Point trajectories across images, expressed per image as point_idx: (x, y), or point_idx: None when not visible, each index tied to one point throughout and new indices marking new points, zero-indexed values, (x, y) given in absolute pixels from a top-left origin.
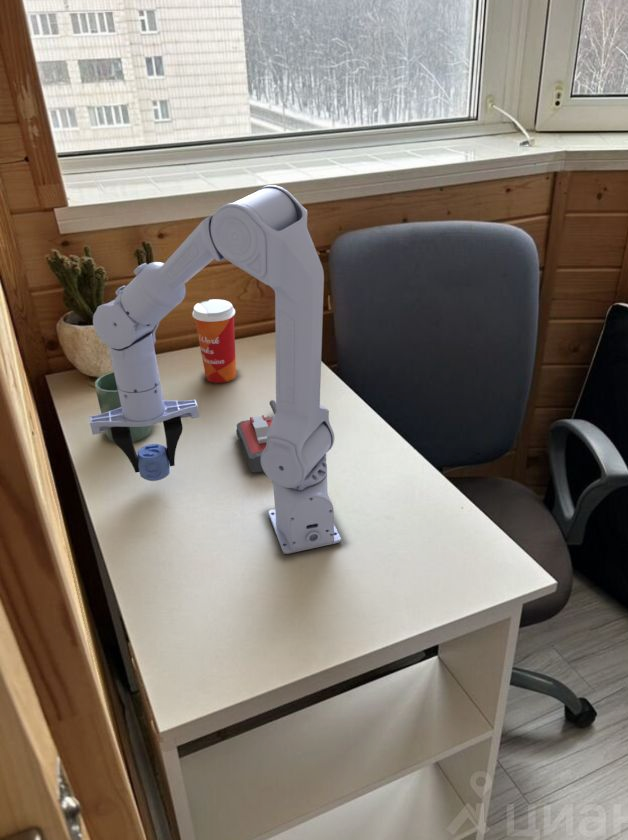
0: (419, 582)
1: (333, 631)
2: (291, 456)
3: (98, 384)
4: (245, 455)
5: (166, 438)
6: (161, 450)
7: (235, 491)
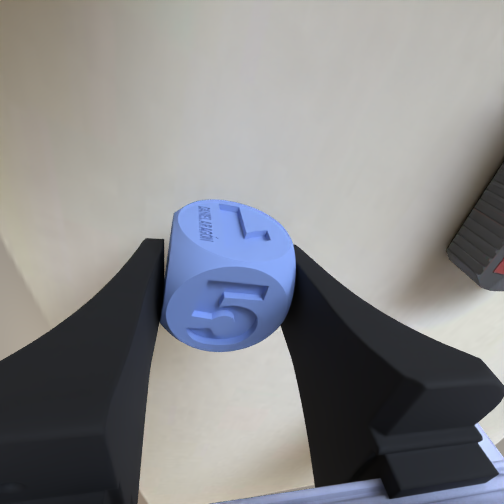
0: None
1: None
2: None
3: None
4: (491, 197)
5: (309, 420)
6: (268, 322)
7: (371, 296)
